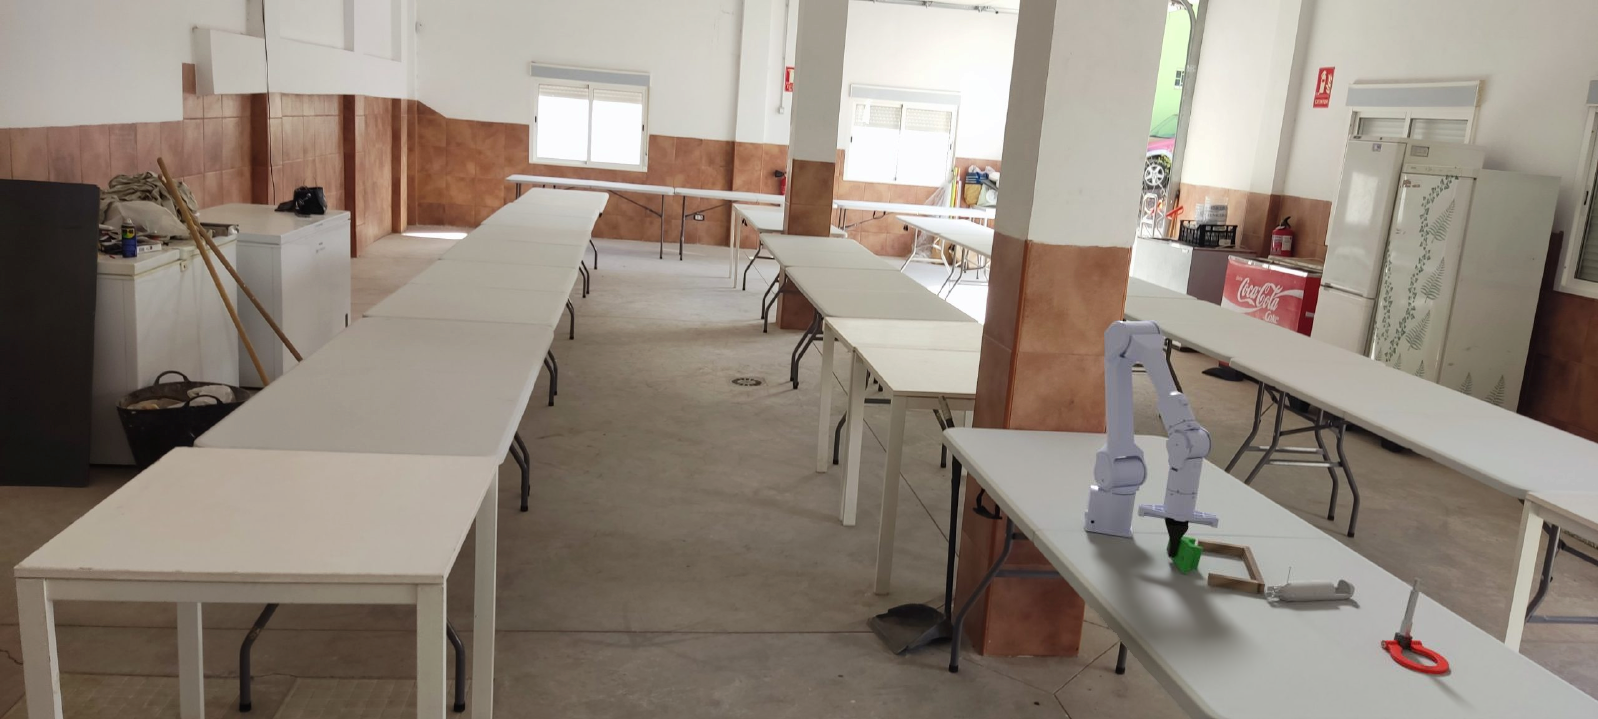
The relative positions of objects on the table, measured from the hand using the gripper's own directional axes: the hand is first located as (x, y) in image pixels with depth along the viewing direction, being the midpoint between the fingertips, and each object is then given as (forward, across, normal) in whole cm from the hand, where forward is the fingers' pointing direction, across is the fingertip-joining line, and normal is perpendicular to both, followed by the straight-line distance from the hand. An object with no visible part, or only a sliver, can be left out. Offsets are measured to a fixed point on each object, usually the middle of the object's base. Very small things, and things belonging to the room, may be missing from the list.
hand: (1171, 555), depth 207 cm
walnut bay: (+1, +10, 0) cm, 10 cm away
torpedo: (+2, +24, -8) cm, 25 cm away
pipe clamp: (+1, +2, 0) cm, 3 cm away
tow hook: (+2, +36, -27) cm, 45 cm away
